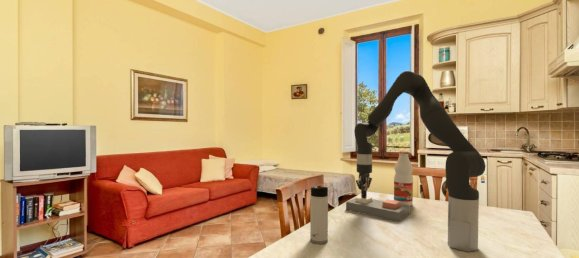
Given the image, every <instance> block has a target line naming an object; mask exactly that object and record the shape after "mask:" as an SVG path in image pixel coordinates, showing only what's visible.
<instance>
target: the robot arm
mask: <svg viewBox="0 0 579 258" xmlns="http://www.w3.org/2000/svg"><path fill="white" fill-rule="evenodd" d="M402 94H408V95H409V96H412V97H413V99H414V100H415V102H417V105H418V106H419V107H418V108H419V117H420V119H421V121H422V123H423V125H424V126H425V129H427V131H428V132H429V133H430V134H431V135H432V136H433V137H435V138H436V139H438V141H440V142H442V144H445V145H446V146H447V147H448V148H449V149H450V150H451V152H450V153H449V154H448V155H447V157H446V159H445V185H446V189H447V192H448V194H447V195H448V202H447V203H448V206H447V244H448V245H449V248H452V249H455V250H459V251H462V252H466V253H467V252H468V253H471V252H475V251H477V250H478V249H479V211H480V210H479V209H480V206H479V205H480V192H479V190H478V189H476V188H474V187H472V186H471V183H470V178H477V177H480V176H482V175H483V174H484V173H485V170H486V162H485V159H484V158H483V156H482V155H481V153H480V152H479V151H478V150H477V149H476V148H475V147H474V146H473V144H472V143H471V142H470V141H469V140H468V139H467V138H466V136H465V135H464V134H463V133H462V132H461V130H460V128H459V127H458V126H457V125H456V123H455V122H454V120H453V119H452V117H451V116H450V115H449V113H448V112H447V110H446V109H445V108H444V106H443V105H442V104H441V103H440V101H439V99H437V98H436V96H435V95H434V93H433V92H432V90H431V88H430V87H429V85H428V82H427V81H426V78H424V77H423V76H422V75H421V74H419V73H417V72H414V71H410V70H404V71H403V72H401V73H400V74H399V75H398V76H397V77H396V78H395V80H394V81H393V83H392V85H391V86H390V87H389V89H388V91H387V92H386V94H385V95H384V97H383V98H382V100H381V101H380V102H379V103H378V104H377V106H376V107H375V108H374V109H373V110H372V111H371V112H370V114H368V116H367V119H368V121H367V122H359V123H357V124H355V127H354V137H355V142H356V145H357V146H356V147H357V148H356V149H357V151H356V152H357V153H356V172H357V173H358V180H357V179H356V180H355V184H356V186H357V188H358V190H360V196H361V197H362V198H366V197H368V196H367V191H368V189H370V187H371V183H372V181H373V178H372V177H371V176H370V175H371V173H373V154H372V153H373V145H372V143H371V142H369V141H368V138H369V137H372V136H373V135H375V133H376V132H377V131H378V130H379V128H380V126H381V125H382V123H384V121H386V120H387V118H388V117H389V116H391V113H392V111H393V107H394V105H395V102H396V101H397V99H398V98H399V97H400V96H401V95H402Z"/></svg>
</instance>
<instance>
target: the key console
mask: <svg viewBox="0 0 579 258" xmlns="http://www.w3.org/2000/svg"><path fill="white" fill-rule="evenodd" d="M383 201H384V200H380V199H375V198H372V202H370V203H368V204H365V203H360V202H356V197H355V198H352V199H350V200H347V201H346V202H345V210H346V211H350V212H354V213H359V214H363V215H367V216H371V217H375V218H376V217H377V218H382V219H386V220H390V221H395V222H400V221H401V220H403V219H404V218H406V217H407V216H409V215H410V213H411V212H410V207H411V206H408V205H402V204H400V207H399V208H397V209H391V208H386V207H382V205H383Z"/></svg>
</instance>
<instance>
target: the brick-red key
mask: <svg viewBox="0 0 579 258" xmlns="http://www.w3.org/2000/svg"><path fill="white" fill-rule="evenodd" d="M382 201H383V205H382V207H386V208H391V209H397V208H399V207H400V202H399V201H394V199H386V200H382Z"/></svg>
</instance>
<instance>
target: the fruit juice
mask: <svg viewBox="0 0 579 258" xmlns="http://www.w3.org/2000/svg"><path fill="white" fill-rule="evenodd" d="M409 154H410V152H409V151H405V150H403V151H402V150H401V151H399V152H398V155H399V156H398V159H397V162H396V163H395V164H394V173H395V174H394V177H393V200H394V201H399V202H400V204H402V205H408V206H410V207H411V206H412V205H413V201H414V198H413V197H414V195H413V194H414V193H413V192H414V177H413V171H414V167H413V165H412V163H411V161H410V158H409Z"/></svg>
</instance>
